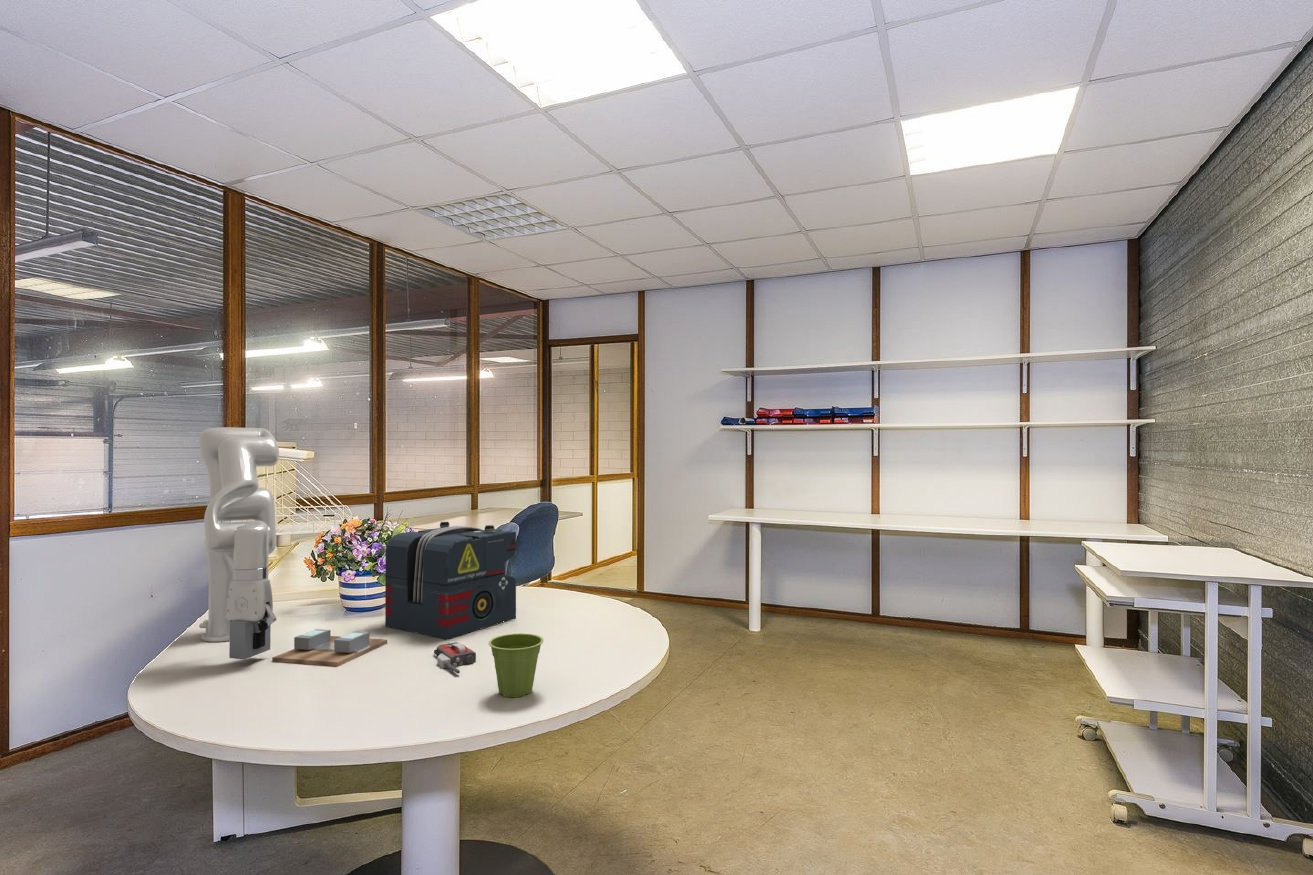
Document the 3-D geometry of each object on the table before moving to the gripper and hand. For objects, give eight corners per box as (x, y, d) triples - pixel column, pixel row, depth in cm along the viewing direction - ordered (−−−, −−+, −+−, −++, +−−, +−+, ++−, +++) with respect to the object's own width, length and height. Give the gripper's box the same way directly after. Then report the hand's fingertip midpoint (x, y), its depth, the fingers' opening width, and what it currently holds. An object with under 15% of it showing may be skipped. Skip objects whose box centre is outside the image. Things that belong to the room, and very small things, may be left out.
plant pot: (493, 705, 138) (493, 651, 138) (484, 687, 149) (484, 636, 149) (549, 697, 143) (549, 644, 143) (536, 679, 154) (536, 630, 154)
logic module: (229, 657, 164) (229, 621, 164) (255, 648, 171) (255, 612, 171) (244, 659, 163) (245, 622, 163) (270, 649, 170) (270, 613, 170)
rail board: (272, 661, 168) (272, 642, 168) (327, 639, 187) (327, 622, 187) (337, 666, 163) (337, 647, 164) (387, 643, 183) (387, 626, 183)
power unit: (446, 640, 186) (447, 533, 186) (384, 626, 200) (384, 527, 201) (517, 618, 210) (517, 523, 210) (456, 607, 224) (456, 518, 225)
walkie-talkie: (425, 657, 171) (453, 679, 155) (425, 640, 171) (453, 660, 155) (459, 651, 177) (489, 671, 161) (459, 634, 177) (489, 653, 161)
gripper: (210, 575, 165) (209, 648, 165) (267, 579, 162) (267, 654, 162) (235, 569, 173) (234, 639, 173) (291, 573, 169) (290, 644, 169)
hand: (250, 645), depth 167 cm, fingers closed on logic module, 4 cm apart
